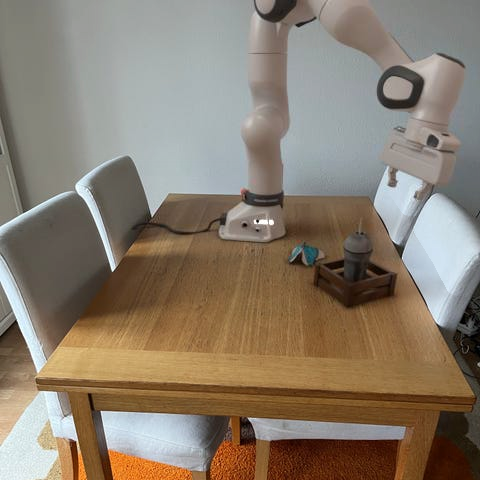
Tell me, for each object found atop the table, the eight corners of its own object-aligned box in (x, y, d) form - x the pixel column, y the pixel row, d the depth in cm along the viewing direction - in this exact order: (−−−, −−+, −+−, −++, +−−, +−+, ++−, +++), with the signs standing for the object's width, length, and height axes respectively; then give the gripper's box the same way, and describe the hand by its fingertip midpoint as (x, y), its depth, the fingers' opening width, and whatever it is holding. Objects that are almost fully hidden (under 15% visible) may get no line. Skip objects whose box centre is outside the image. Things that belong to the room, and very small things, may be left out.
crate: (347, 308, 116) (350, 286, 113) (313, 284, 127) (315, 263, 124) (393, 295, 121) (397, 274, 118) (357, 273, 133) (359, 253, 130)
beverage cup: (368, 285, 126) (379, 212, 116) (365, 297, 120) (376, 221, 110) (340, 281, 128) (349, 209, 118) (336, 293, 122) (344, 218, 112)
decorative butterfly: (280, 251, 136) (292, 232, 142) (282, 269, 140) (293, 250, 147) (315, 257, 132) (325, 237, 139) (315, 275, 137) (325, 255, 143)
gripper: (384, 123, 117) (367, 179, 124) (448, 144, 102) (424, 206, 109) (403, 125, 120) (385, 180, 127) (467, 146, 105) (443, 206, 112)
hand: (404, 192), depth 118 cm, fingers open, 8 cm apart
